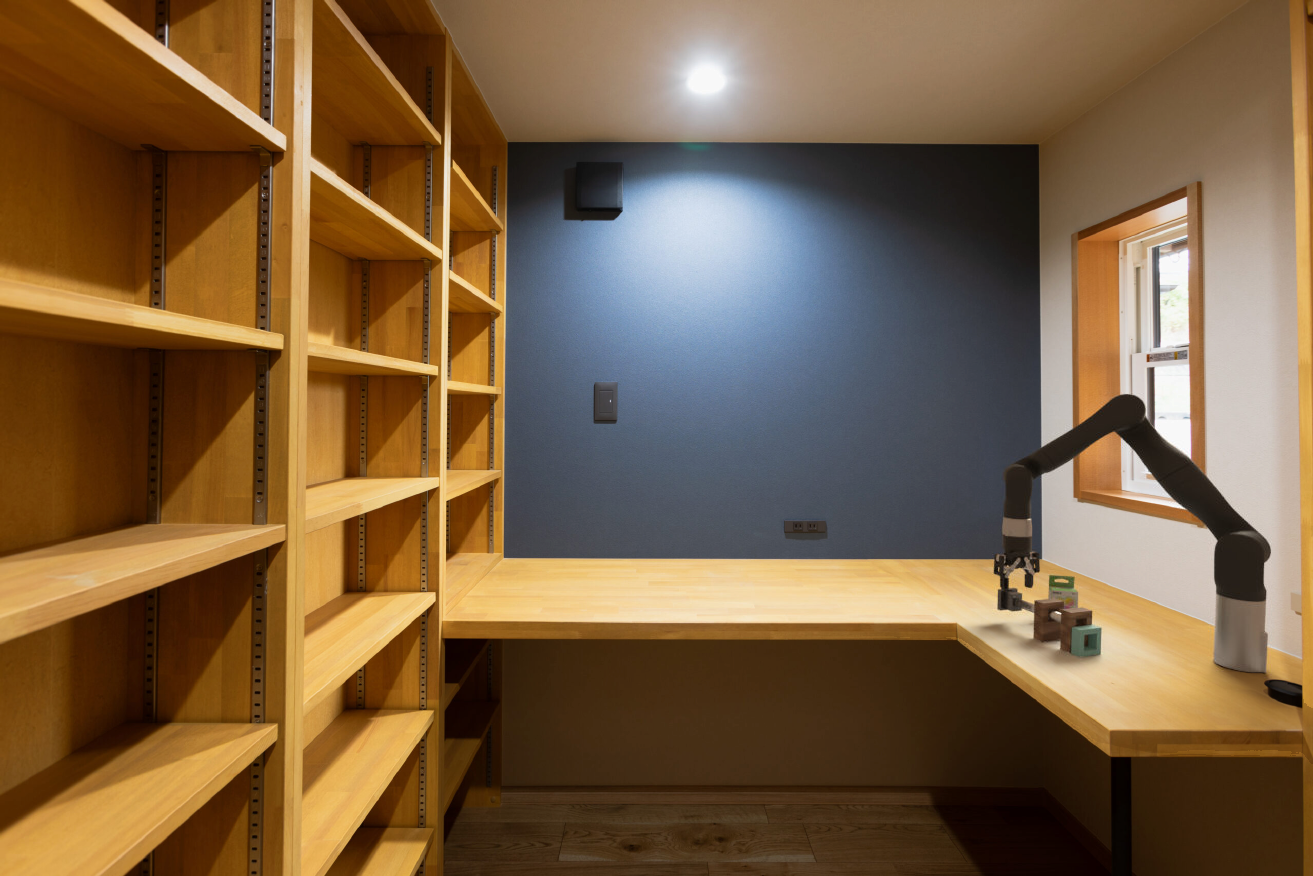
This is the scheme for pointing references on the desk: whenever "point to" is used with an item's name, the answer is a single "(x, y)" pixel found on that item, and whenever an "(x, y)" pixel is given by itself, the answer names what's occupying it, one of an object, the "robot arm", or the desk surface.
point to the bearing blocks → (1056, 630)
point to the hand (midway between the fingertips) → (1016, 588)
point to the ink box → (1063, 591)
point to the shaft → (1021, 604)
